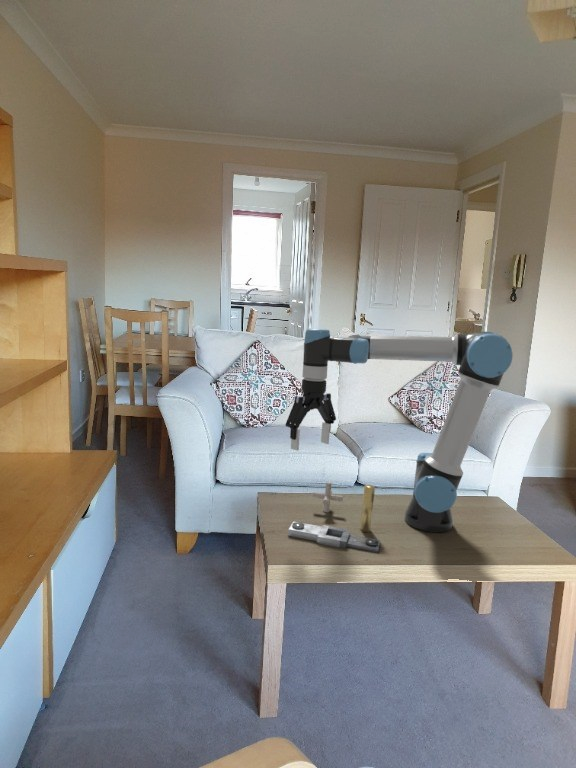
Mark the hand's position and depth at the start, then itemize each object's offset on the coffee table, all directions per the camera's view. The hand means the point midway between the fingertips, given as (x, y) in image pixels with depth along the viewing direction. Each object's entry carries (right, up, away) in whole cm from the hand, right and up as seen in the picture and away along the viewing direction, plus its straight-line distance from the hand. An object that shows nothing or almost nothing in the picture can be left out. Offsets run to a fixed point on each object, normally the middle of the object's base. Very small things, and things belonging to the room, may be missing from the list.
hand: (310, 446), depth 166 cm
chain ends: (+7, -26, -10) cm, 29 cm away
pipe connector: (+6, -23, +11) cm, 26 cm away
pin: (+17, -26, -1) cm, 31 cm away
